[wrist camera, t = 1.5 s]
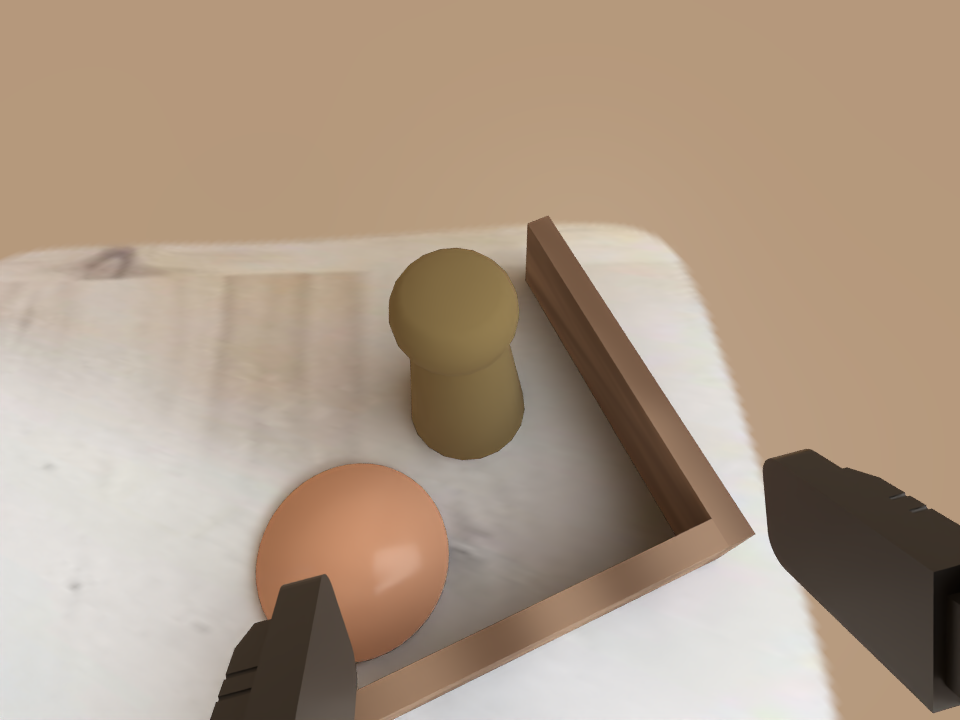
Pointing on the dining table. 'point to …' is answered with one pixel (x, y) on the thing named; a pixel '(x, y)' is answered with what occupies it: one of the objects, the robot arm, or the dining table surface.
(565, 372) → the dining table surface
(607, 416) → the walnut corner walls
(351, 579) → the terracotta coaster
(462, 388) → the cork
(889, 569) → the robot arm
